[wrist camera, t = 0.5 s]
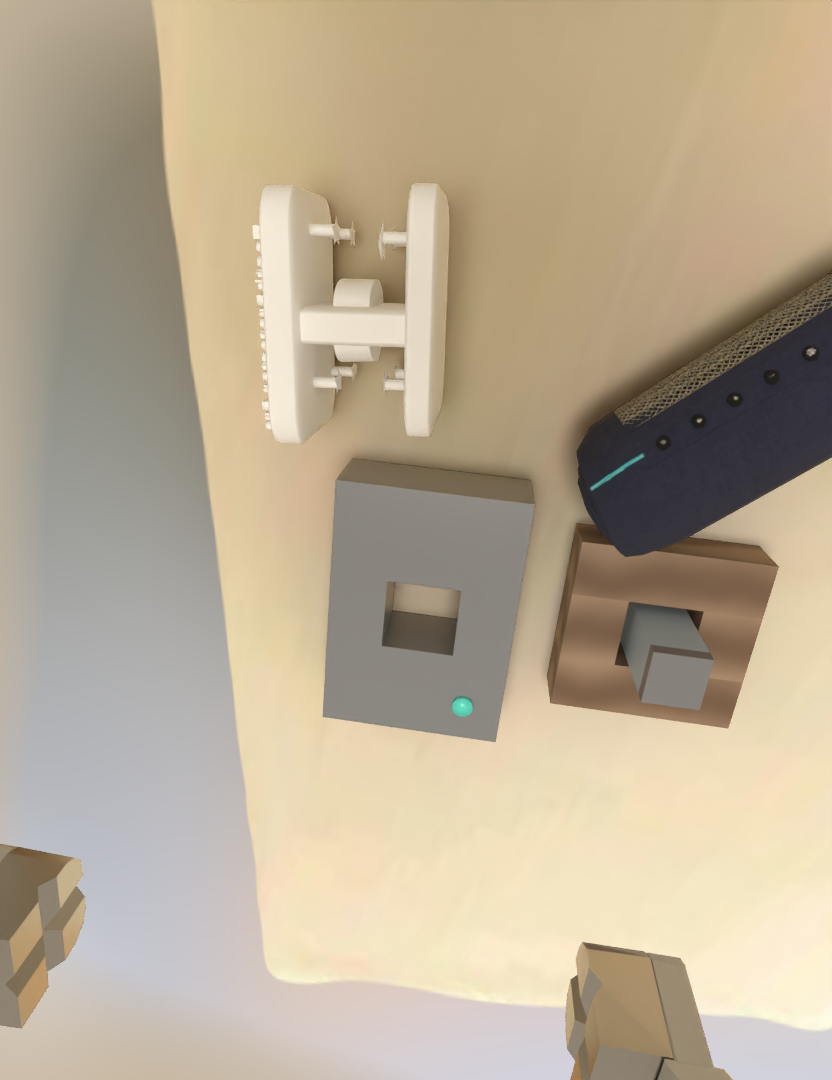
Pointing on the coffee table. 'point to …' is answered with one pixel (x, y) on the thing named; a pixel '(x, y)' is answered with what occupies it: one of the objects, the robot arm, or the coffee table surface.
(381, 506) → the port box
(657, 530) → the portable speaker
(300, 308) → the cable organizer
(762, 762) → the coffee table surface
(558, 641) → the square wooden frame
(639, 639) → the plug
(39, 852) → the robot arm
